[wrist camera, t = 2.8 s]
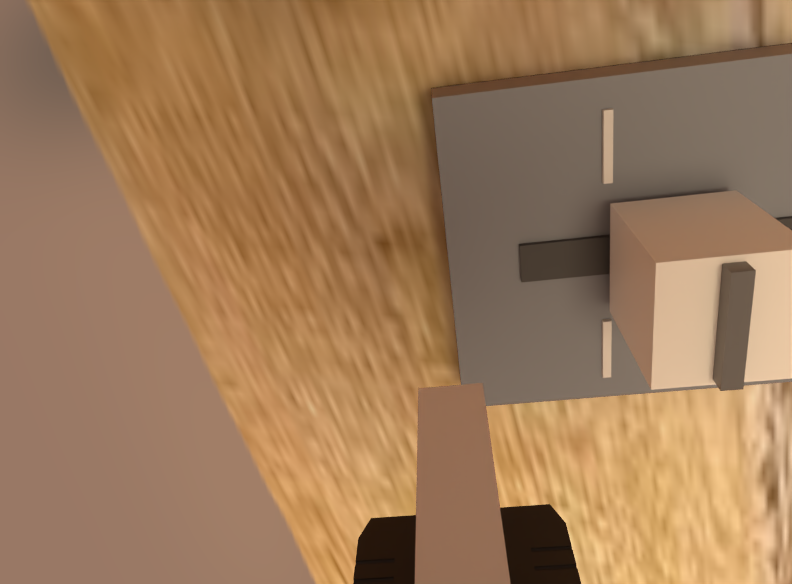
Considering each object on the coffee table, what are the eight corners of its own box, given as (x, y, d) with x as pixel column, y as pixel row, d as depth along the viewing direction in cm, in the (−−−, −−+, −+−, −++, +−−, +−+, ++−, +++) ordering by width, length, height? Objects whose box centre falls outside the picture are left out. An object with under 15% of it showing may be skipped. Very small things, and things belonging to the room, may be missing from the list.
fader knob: (610, 203, 22) (662, 272, 17) (736, 190, 22) (827, 256, 17) (609, 310, 24) (657, 401, 19) (726, 300, 24) (806, 390, 19)
